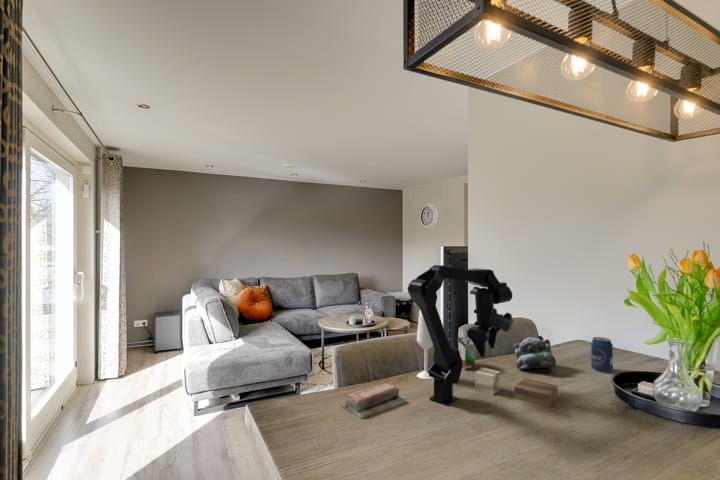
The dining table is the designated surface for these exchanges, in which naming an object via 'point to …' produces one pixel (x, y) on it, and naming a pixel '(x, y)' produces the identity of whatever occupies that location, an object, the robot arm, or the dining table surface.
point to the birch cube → (487, 381)
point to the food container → (467, 352)
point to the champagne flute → (424, 344)
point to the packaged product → (373, 400)
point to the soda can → (602, 355)
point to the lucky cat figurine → (534, 353)
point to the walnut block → (536, 392)
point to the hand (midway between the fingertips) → (487, 352)
